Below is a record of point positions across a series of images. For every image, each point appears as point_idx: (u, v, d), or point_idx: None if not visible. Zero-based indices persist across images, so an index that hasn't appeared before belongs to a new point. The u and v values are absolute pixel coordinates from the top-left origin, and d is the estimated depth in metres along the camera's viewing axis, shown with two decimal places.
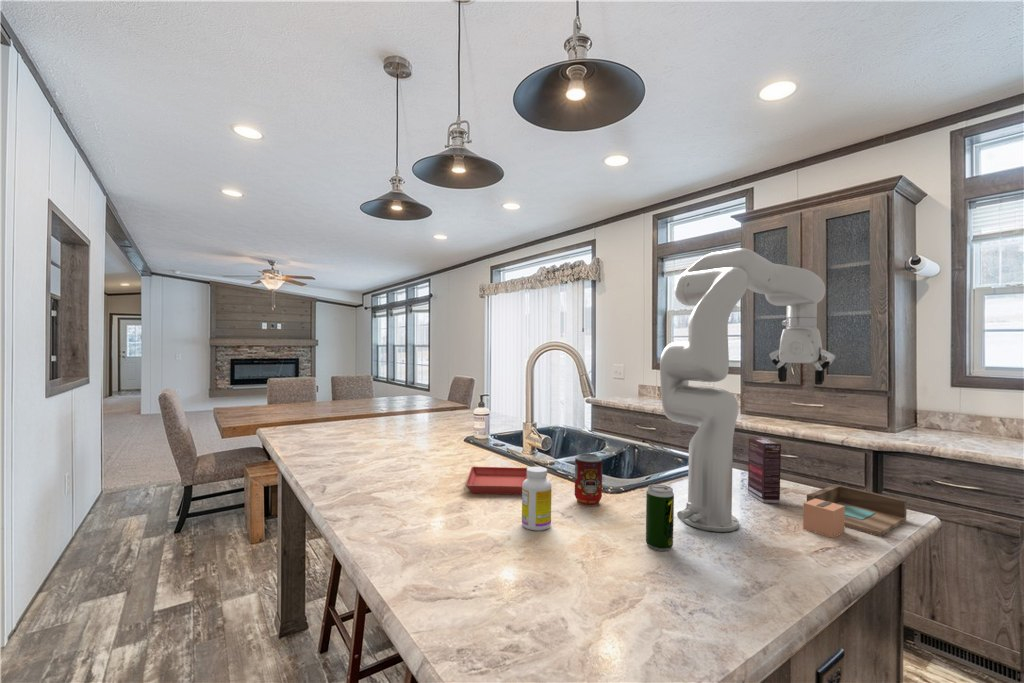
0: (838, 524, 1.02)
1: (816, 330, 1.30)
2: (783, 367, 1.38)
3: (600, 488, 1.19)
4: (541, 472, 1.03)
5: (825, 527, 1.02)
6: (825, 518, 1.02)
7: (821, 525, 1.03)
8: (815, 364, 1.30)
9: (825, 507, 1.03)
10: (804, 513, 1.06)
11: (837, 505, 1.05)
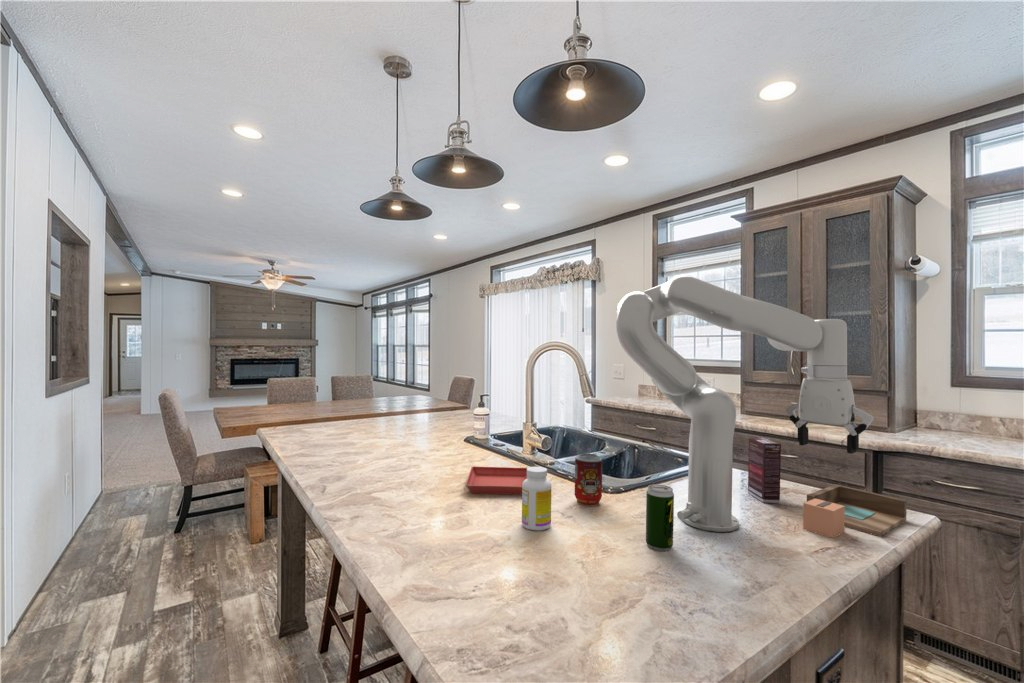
0: (838, 524, 1.02)
1: (847, 383, 1.01)
2: (804, 426, 1.09)
3: (600, 488, 1.19)
4: (541, 472, 1.03)
5: (825, 527, 1.02)
6: (825, 518, 1.02)
7: (821, 525, 1.03)
8: (847, 427, 1.01)
9: (825, 507, 1.03)
10: (804, 513, 1.06)
11: (837, 505, 1.05)
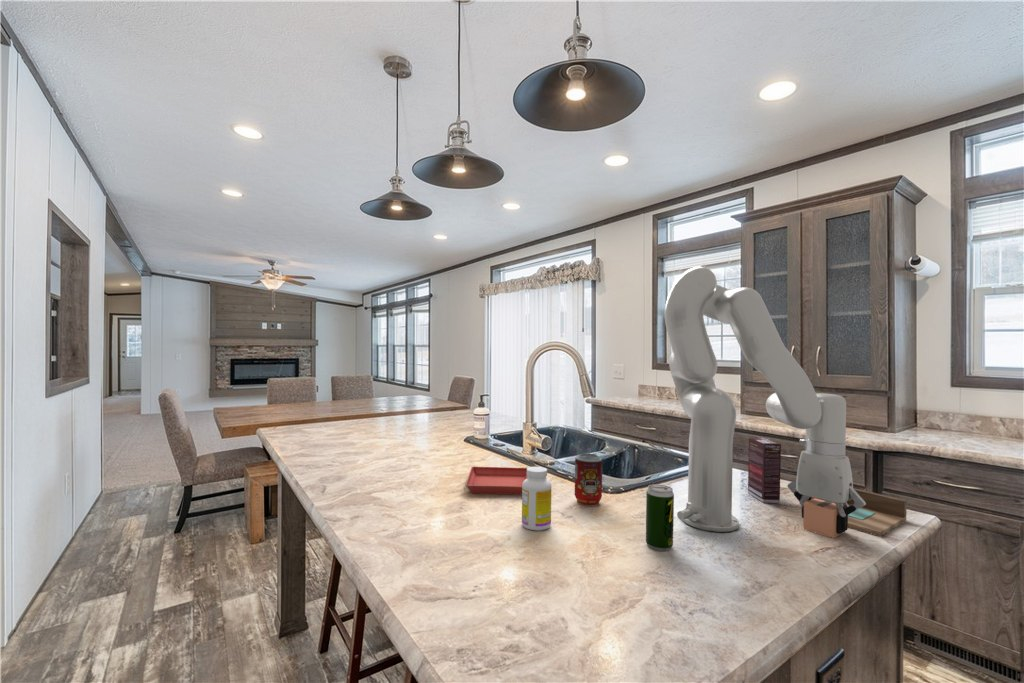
0: None
1: (845, 461, 1.01)
2: None
3: (600, 488, 1.19)
4: (541, 472, 1.03)
5: (825, 527, 1.02)
6: (825, 518, 1.02)
7: (821, 525, 1.03)
8: (838, 506, 1.02)
9: (825, 507, 1.03)
10: (804, 513, 1.06)
11: None
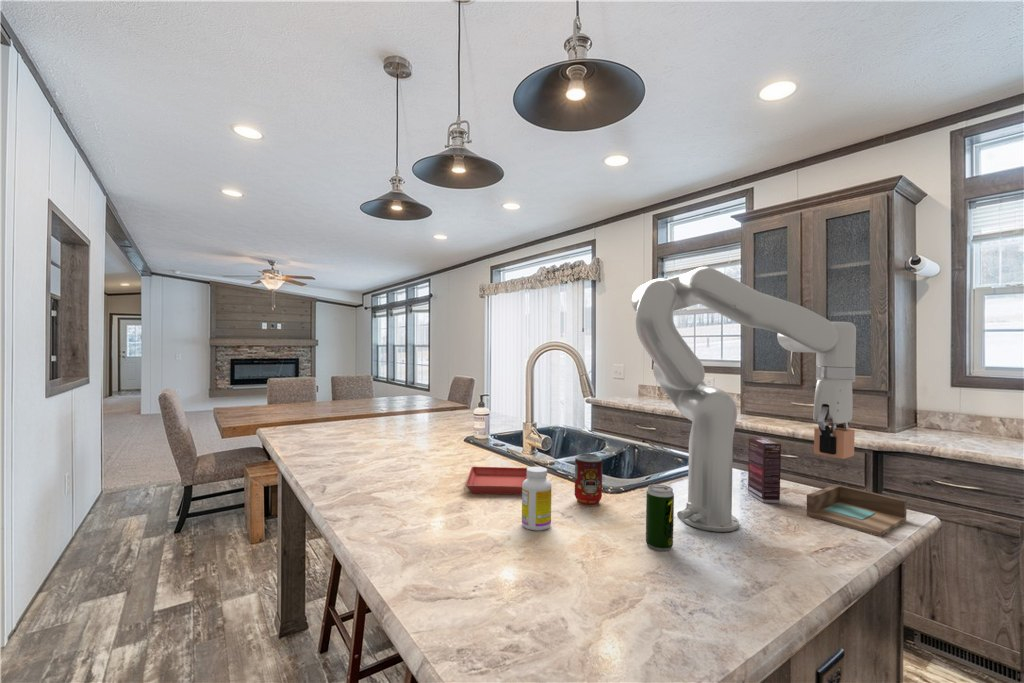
0: None
1: (821, 382, 1.06)
2: None
3: (600, 488, 1.19)
4: (541, 472, 1.03)
5: None
6: None
7: None
8: None
9: None
10: None
11: (840, 431, 1.05)
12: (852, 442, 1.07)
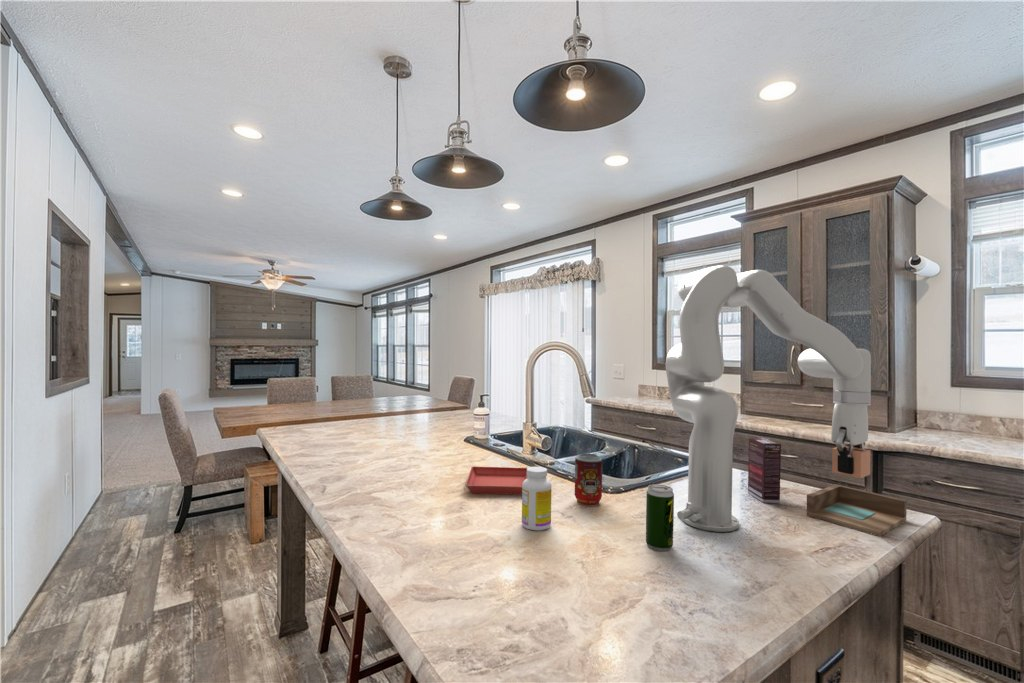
0: None
1: (838, 406, 1.13)
2: None
3: (600, 488, 1.19)
4: (541, 472, 1.03)
5: None
6: None
7: None
8: None
9: None
10: None
11: (857, 451, 1.12)
12: (868, 462, 1.13)
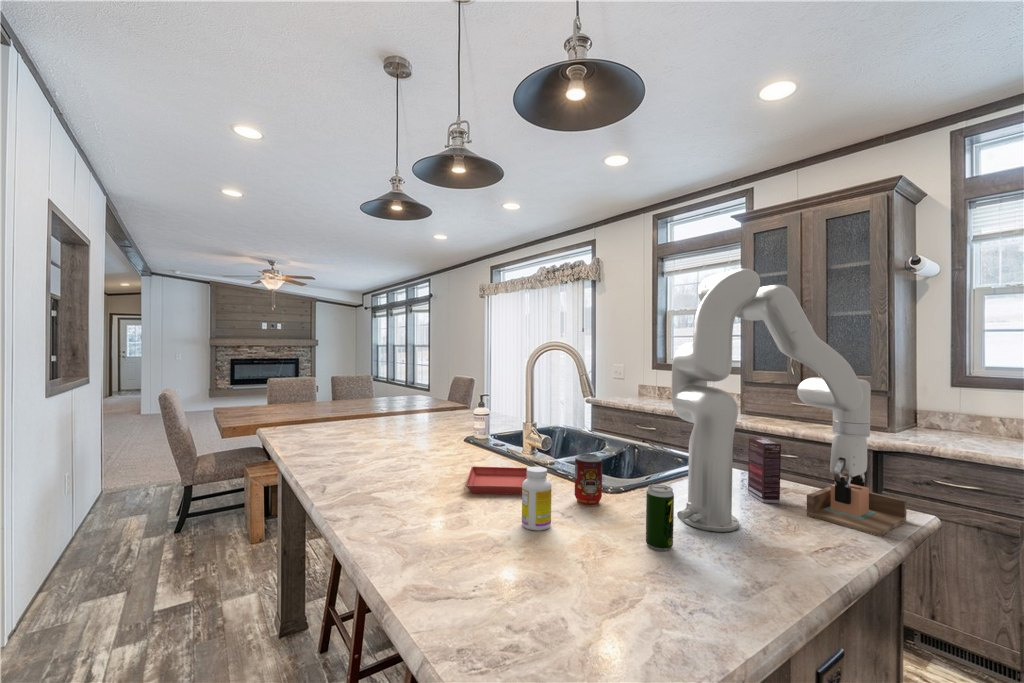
0: None
1: (837, 437, 1.13)
2: (855, 479, 1.17)
3: (600, 488, 1.19)
4: (541, 472, 1.03)
5: None
6: None
7: None
8: None
9: None
10: None
11: (856, 490, 1.12)
12: (867, 500, 1.13)
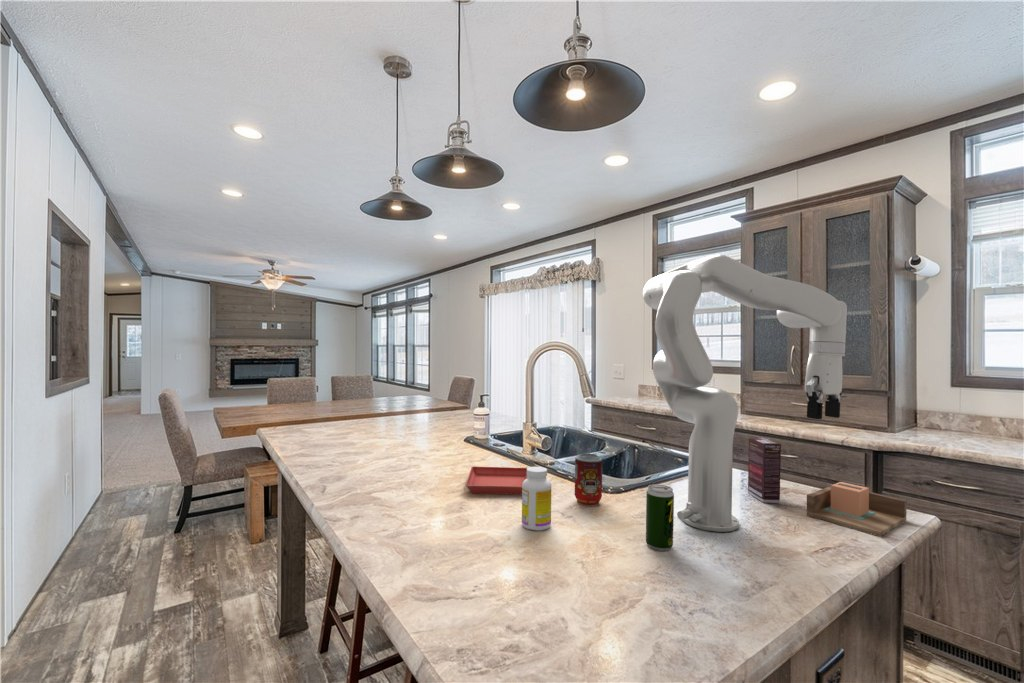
0: (842, 502, 1.13)
1: (812, 356, 1.15)
2: (831, 400, 1.19)
3: (600, 488, 1.19)
4: (541, 472, 1.03)
5: None
6: None
7: None
8: None
9: (839, 485, 1.16)
10: None
11: (856, 490, 1.12)
12: (867, 500, 1.13)
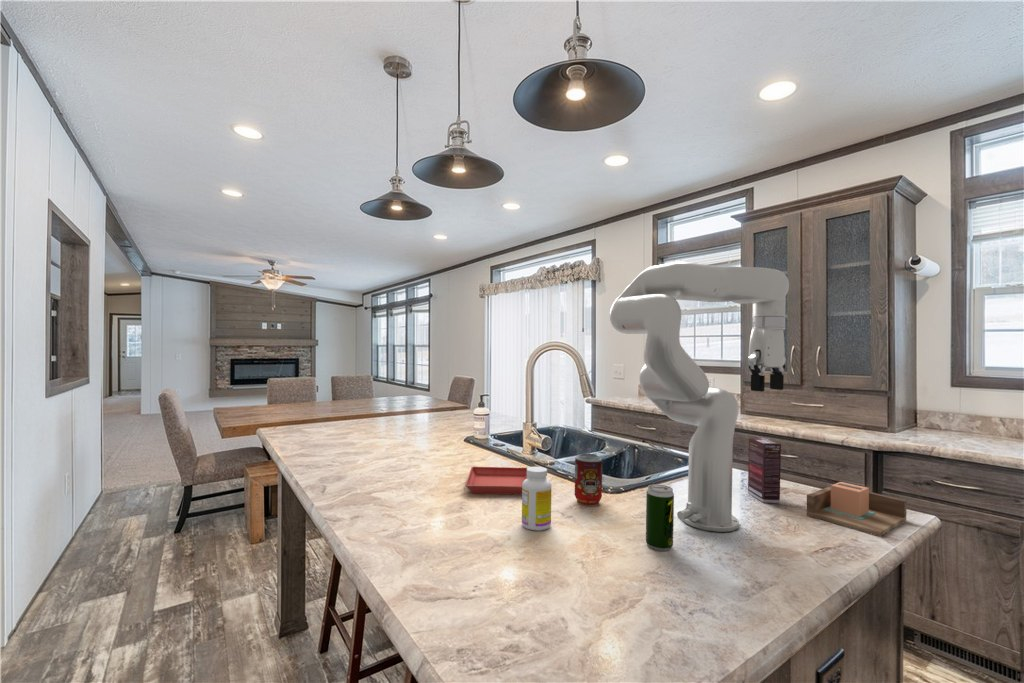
0: (842, 502, 1.13)
1: (754, 331, 1.18)
2: (776, 373, 1.23)
3: (600, 488, 1.19)
4: (541, 472, 1.03)
5: None
6: None
7: None
8: None
9: (839, 485, 1.16)
10: None
11: (856, 490, 1.12)
12: (867, 500, 1.13)
